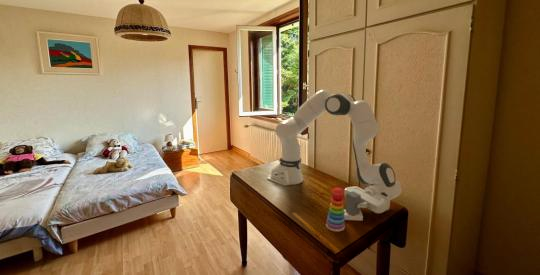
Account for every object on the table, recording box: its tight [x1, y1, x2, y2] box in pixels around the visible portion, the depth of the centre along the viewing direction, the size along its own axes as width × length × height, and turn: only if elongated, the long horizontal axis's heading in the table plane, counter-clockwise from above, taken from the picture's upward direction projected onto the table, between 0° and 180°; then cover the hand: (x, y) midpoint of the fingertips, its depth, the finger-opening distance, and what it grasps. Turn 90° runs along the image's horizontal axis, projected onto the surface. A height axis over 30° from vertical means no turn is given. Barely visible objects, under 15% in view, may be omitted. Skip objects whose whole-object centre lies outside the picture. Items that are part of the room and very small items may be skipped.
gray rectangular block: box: [345, 191, 361, 216], centre depth 112 cm, size 4×4×11 cm
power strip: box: [344, 208, 364, 221], centre depth 114 cm, size 11×5×4 cm, turn 83°
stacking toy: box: [325, 187, 346, 232], centre depth 106 cm, size 8×8×19 cm
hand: (351, 202), depth 112 cm, fingers closed on gray rectangular block, 4 cm apart
